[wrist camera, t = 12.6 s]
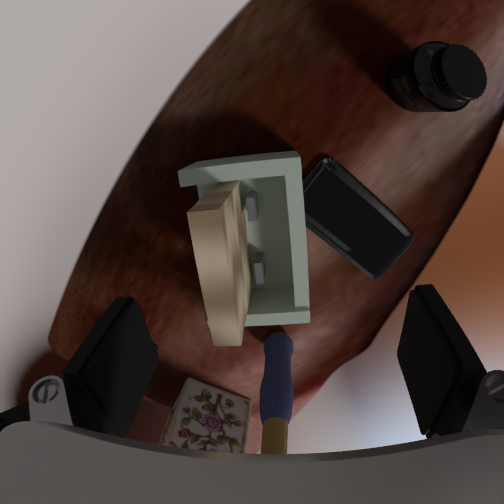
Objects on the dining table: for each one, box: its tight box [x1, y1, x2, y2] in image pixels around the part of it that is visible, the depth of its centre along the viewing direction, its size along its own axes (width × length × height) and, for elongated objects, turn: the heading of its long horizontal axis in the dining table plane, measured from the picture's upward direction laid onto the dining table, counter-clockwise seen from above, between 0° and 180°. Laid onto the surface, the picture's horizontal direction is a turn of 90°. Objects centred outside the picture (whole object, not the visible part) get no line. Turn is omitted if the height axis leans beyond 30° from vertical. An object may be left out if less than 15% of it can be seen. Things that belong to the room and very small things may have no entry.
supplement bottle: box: [385, 41, 487, 112], centre depth 22 cm, size 7×7×12 cm
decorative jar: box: [159, 377, 251, 454], centre depth 41 cm, size 12×12×18 cm
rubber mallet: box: [260, 332, 293, 454], centre depth 29 cm, size 12×8×30 cm, turn 142°
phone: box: [302, 157, 414, 280], centre depth 35 cm, size 8×1×15 cm
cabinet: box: [178, 151, 310, 327], centre depth 33 cm, size 17×11×7 cm, turn 7°
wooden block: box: [187, 180, 253, 346], centre depth 30 cm, size 12×3×12 cm, turn 6°
